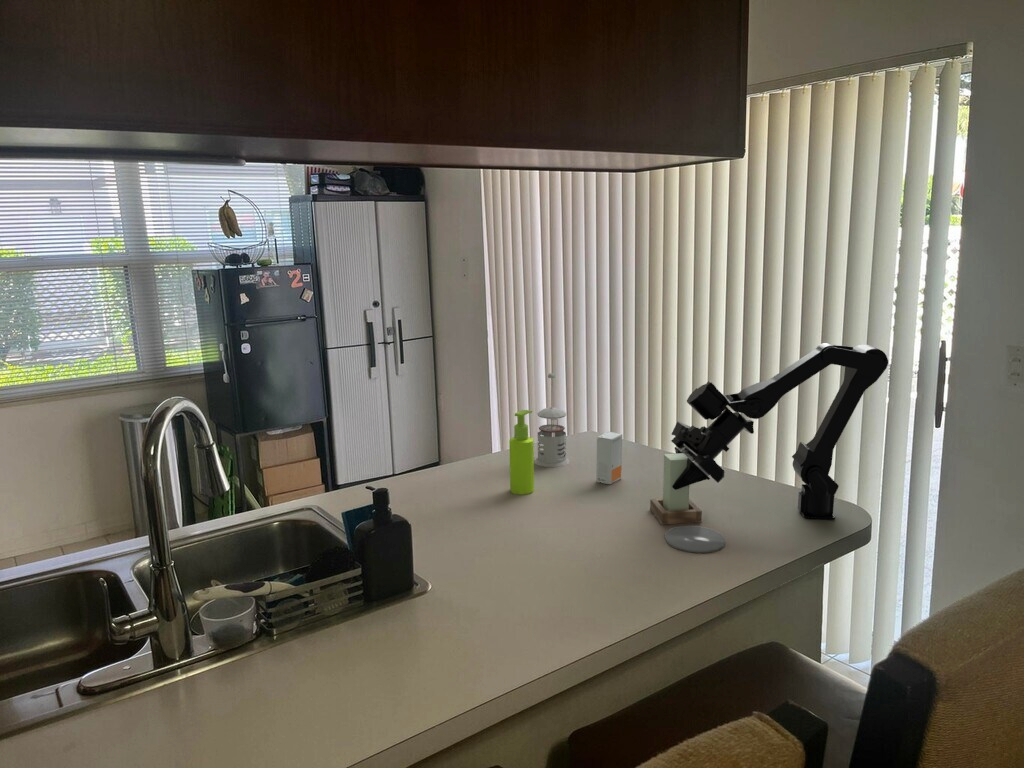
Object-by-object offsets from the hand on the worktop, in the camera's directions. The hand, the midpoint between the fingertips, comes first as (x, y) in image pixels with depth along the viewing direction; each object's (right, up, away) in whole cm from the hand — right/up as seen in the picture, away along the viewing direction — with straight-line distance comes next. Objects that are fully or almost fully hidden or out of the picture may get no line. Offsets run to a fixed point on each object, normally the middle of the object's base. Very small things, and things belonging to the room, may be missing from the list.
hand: (670, 484), depth 160 cm
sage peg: (+2, -6, +2) cm, 7 cm away
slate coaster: (+3, -10, -11) cm, 15 cm away
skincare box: (-10, -3, +25) cm, 27 cm away
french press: (-24, +1, +42) cm, 48 cm away
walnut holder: (+1, -7, +2) cm, 7 cm away
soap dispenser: (-32, -4, +20) cm, 38 cm away
